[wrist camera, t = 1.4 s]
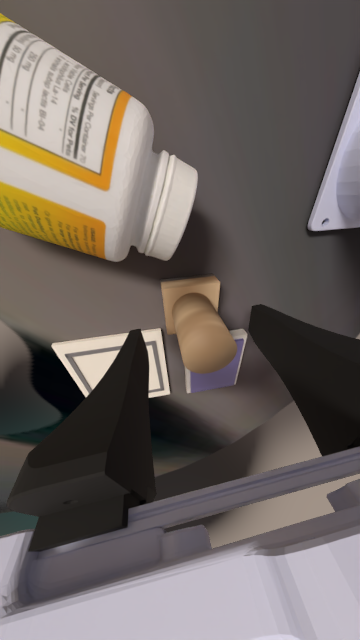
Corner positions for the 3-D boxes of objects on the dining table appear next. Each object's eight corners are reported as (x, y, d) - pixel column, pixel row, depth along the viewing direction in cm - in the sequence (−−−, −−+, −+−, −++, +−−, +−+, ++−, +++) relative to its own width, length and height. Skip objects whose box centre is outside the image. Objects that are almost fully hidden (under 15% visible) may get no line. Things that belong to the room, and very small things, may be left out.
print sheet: (160, 328, 15) (160, 331, 15) (169, 391, 21) (170, 394, 21) (52, 343, 14) (50, 346, 14) (93, 405, 20) (92, 408, 20)
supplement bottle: (-42, 188, 9) (158, 257, 12) (-239, 190, 4) (165, 298, 8) (-93, -13, 6) (191, 155, 9) (-912, -696, 1) (232, 128, 5)
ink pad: (243, 328, 17) (249, 336, 16) (232, 377, 22) (236, 386, 21) (183, 337, 17) (185, 346, 16) (185, 386, 21) (187, 395, 20)
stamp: (212, 273, 13) (252, 320, 8) (209, 316, 16) (240, 372, 11) (160, 279, 13) (170, 332, 8) (165, 322, 15) (175, 384, 10)
